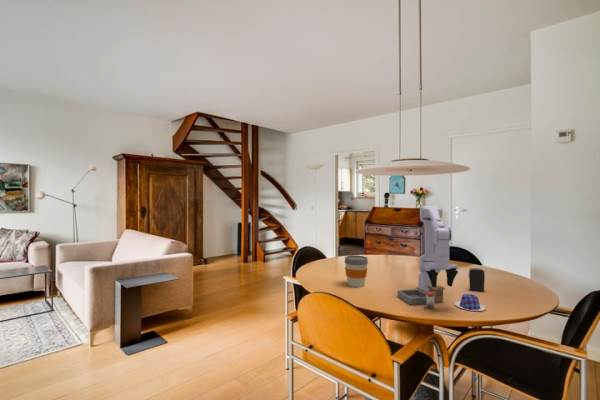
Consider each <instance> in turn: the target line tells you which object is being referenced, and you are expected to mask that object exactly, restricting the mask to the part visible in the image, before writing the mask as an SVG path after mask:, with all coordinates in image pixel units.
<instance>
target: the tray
mask: <svg viewBox="0 0 600 400" xmlns="http://www.w3.org/2000/svg"><path fill="white" fill-rule="evenodd" d="M396 293H397V298H398V299H400V300H402V301H403V302H405V303H406V304H408V305H409V306H419V305H426V294H425V291H423V290H421V289H419V288H415V289H399V290H397V292H396Z"/></svg>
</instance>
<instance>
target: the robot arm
mask: <svg viewBox="0 0 600 400" xmlns="http://www.w3.org/2000/svg"><path fill="white" fill-rule="evenodd" d="M442 217H443V208H442V206H441V205H420V208H419V219H420V222H422V223H423V225H424V226H423V227H424V254H422V255H421V256H420V257H419V261H418V271H419V273H418V284H417V285H418V286H416V289H419V290H421V291H423V292H425V291H429V288H428V285H432V287H434V288H436V285H438V275H439V273H440V272H441V271H445V274H446V284H447V287H450V288H452V287H453V284H454V280H455V278H456V276H457V275H458V273H459V264H456V263H455V264H454V263H452V264H451V263H450V241H451V240H452V230H451V228H450V227H449V226H447V225H446V223H445V221H444V219H443V218H442Z"/></svg>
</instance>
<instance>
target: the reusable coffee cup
mask: <svg viewBox="0 0 600 400" xmlns="http://www.w3.org/2000/svg"><path fill="white" fill-rule="evenodd" d="M368 263H369V262H368V257H367V256H364V255H346V256H345V257H344V264H345V268H344V269H345V271H344V272H345V276H346V279H347V285H348V286H350V287H351V288H362V287H364V286H365V283H366V277H367V273H368Z"/></svg>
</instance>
